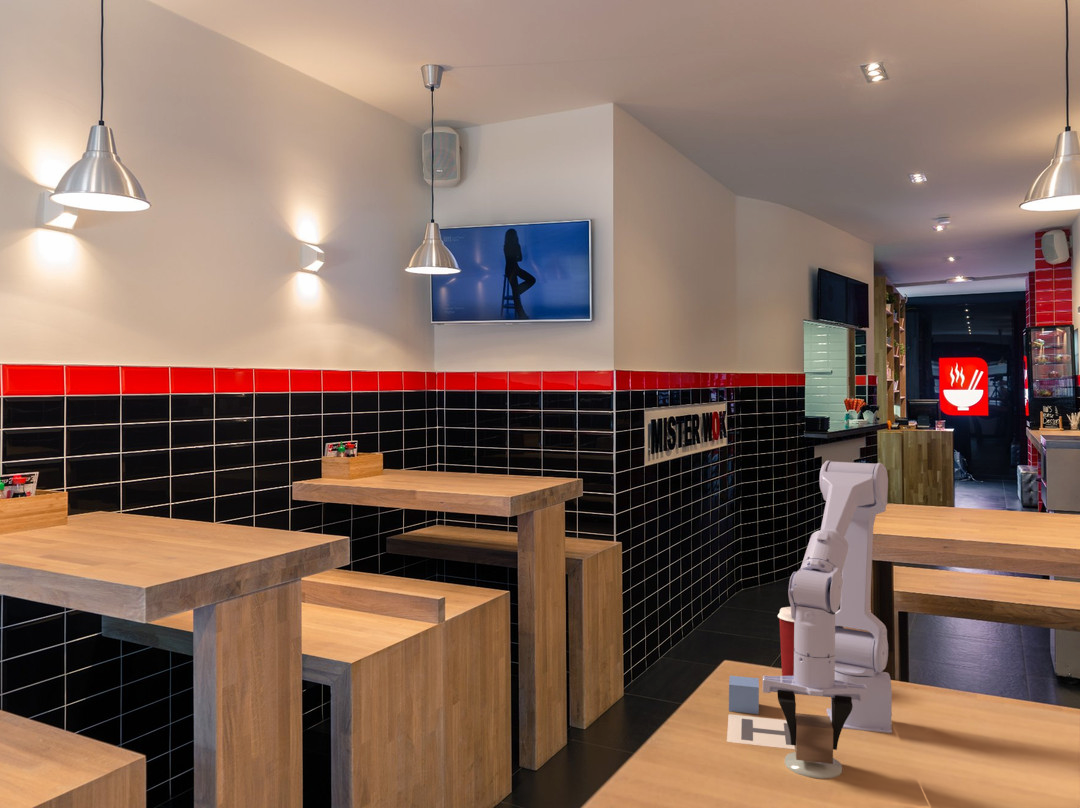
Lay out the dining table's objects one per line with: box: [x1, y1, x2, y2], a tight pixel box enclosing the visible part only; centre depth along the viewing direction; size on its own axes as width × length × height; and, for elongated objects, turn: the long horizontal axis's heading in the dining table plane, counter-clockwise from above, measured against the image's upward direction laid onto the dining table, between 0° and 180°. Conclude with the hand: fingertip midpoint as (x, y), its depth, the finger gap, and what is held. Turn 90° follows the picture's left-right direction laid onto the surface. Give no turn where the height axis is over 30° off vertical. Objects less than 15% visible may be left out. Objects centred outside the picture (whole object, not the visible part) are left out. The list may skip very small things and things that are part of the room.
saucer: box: [784, 751, 843, 780], centre depth 120 cm, size 8×8×1 cm
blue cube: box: [728, 675, 760, 715], centre depth 143 cm, size 5×5×5 cm
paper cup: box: [777, 606, 794, 676], centre depth 157 cm, size 8×8×14 cm
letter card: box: [726, 713, 795, 750], centre depth 132 cm, size 13×12×1 cm
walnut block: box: [794, 712, 834, 764], centre depth 120 cm, size 5×5×5 cm
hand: (813, 744), depth 120 cm, fingers closed on walnut block, 5 cm apart
